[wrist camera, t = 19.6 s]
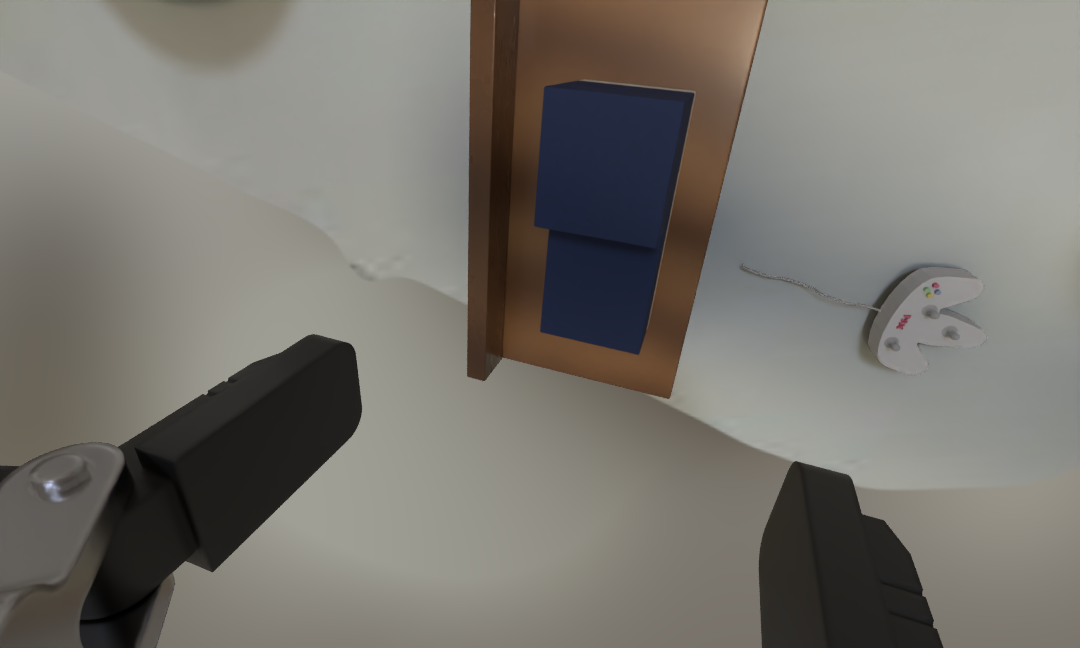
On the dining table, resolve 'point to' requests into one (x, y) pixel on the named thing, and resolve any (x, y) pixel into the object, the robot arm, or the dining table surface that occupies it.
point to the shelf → (513, 156)
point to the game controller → (920, 317)
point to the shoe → (607, 204)
